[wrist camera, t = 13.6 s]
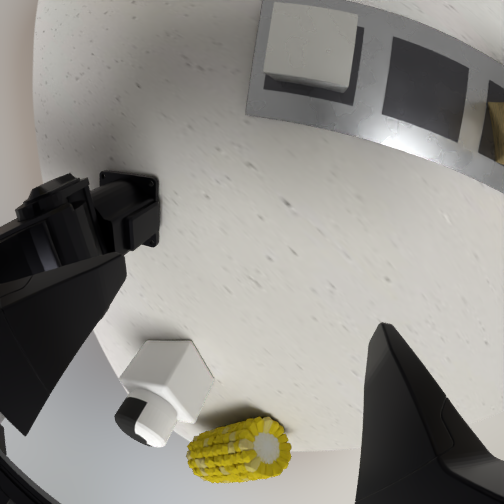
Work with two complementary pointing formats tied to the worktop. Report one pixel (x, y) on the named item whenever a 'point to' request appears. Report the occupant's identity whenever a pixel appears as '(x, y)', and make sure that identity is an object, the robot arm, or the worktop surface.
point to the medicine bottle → (162, 390)
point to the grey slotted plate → (396, 91)
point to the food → (240, 451)
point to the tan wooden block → (497, 129)
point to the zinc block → (311, 46)
